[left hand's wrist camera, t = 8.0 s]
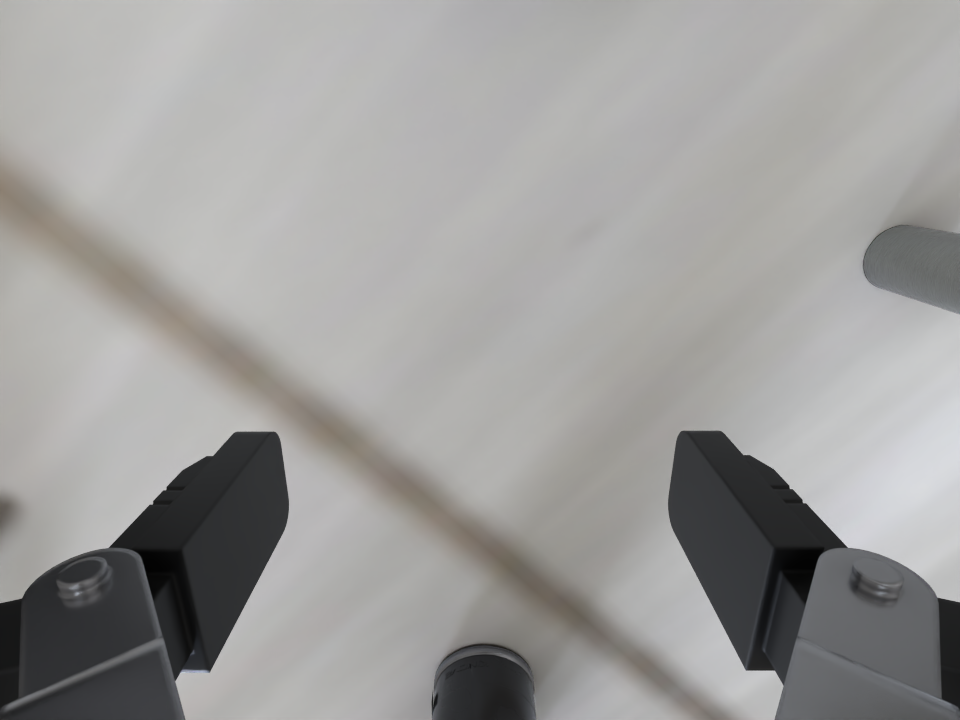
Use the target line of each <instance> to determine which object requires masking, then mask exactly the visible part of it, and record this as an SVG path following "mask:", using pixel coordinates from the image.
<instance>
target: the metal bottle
mask: <svg viewBox="0 0 960 720" xmlns="http://www.w3.org/2000/svg"><path fill="white" fill-rule="evenodd" d="M864 272H865V275H866V277H867V279H868V280H869V281H870V283H872V284H873V285H874V286H876V287H878V288H881V289H884V290H887V291H890V292H893V293H896V294H899V295H902V296H905V297H908V298H912V299H915V300H918V301H921V302H924V303H927V304H930V305H933V306H936V307H939V308H942V309H945V310H948V311H951V312H954V313H957V314H960V234H959V233H953V232H946V231H940V230H934V229H928V228H922V227H915V226H909V225H901V226H896V227H893V228H890V229H888V230H886V231H884V232H883V233H881V234H880V235H879V236H878V237H877V238H876V239H875V240H874V241H873V242H872V243H871V245H870V246H869V248H868V250H867V252H866V254H865V258H864Z"/></svg>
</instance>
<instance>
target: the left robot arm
mask: <svg viewBox="0 0 960 720" xmlns="http://www.w3.org/2000/svg"><path fill="white" fill-rule="evenodd" d="M668 510H669V518H670V522H671V526H672V529H673V531H674V533H675V535H676V537H677V539H678V540H679V542H680V544H681V546H682V548H683V550H684V552H685V554H686V556H687V558H688V560H689V562H690V564H691V565H692V567H693V569H694V571H695V573H696V575H697V577H698V579H699V581H700V583H701V585H702V587H703V589H704V591H705V592H706V594H707V596H708V598H709V600H710V602H711V604H712V606H713V608H714V610H715V612H716V614H717V616H718V617H719V619H720V621H721V623H722V625H723V627H724V629H725V631H726V633H727V635H728V637H729V639H730V641H731V642H732V644H733V646H734V648H735V650H736V652H737V654H738V656H739V658H740V660H741V662H742V664H743V666H744V667H745V669H746V670H775V671H776V673H777V675H778V676H779V678H780V680H781V682H782V683H783V685H784V687H783V690H782V694H781V698H780V701H779V705H778V709H777V713H776V716H775V720H960V602H955V601H950V600H945V599H941V598H937V596H936V594H935V592H934V591H933V589H932V588H931V587H930V585H929V584H928V583H927V582H926V581H925V580H924V579H922V578H921V577H920V576H919V575H917V574H916V573H915V572H913V571H912V570H910V569H909V568H907V567H905V566H904V565H902V564H900V563H898V562H896V561H894V560H892V559H890V558H887V557H885V556H882V555H879V554H876V553H873V552H870V551H865V550H861V549H854V548H848V547H847V546H846V545H845V544H844V543H843V542H842V541H841V540H840V539H839V538H838V537H837V536H836V535H835V534H834V533H833V532H832V531H831V529H830V528H829V527H828V526H827V525H826V524H825V523H824V522H823V521H822V520H821V519H820V518H819V517H818V516H817V515H816V514H815V513H814V511H813V510H812V509H811V508H810V507H809V506H808V505H807V504H806V503H803V502H802V499H801V498H800V497H799V496H798V495H797V493H796V492H795V491H794V490H793V489H790V488H789V485H788V484H787V483H786V482H785V481H784V480H783V479H782V478H781V477H780V475H779V474H778V473H777V472H776V471H775V470H774V469H772V468H771V467H769V466H767V465H765V464H764V463H762V462H760V461H759V460H757V459H755V458H754V457H752V456H750V455H743V454H742V453H741V452H740V451H739V450H738V449H737V448H736V446H735V445H734V444H733V443H732V442H731V441H730V440H729V439H728V437H727V436H726V435H725V434H724V433H723V432H721V431H681V432H680V433H679V435H678V437H677V441H676V447H675V454H674V462H673V469H672V476H671V483H670V491H669V499H668ZM288 512H289V498H288V491H287V484H286V477H285V470H284V462H283V455H282V448H281V442H280V438H279V436H278V434H277V433H276V432H235V433H234V434H233V435H232V436H231V437H230V438H229V439H228V440H227V441H226V442H225V443H224V445H223V446H222V447H221V448H220V449H219V450H218V451H217V452H216V454H215V455H214V456H206V457H205V458H203V459H201V460H200V461H198V462H196V463H194V464H193V465H191V466H189V467H188V468H186V469H184V470H183V471H182V472H181V473H180V474H179V475H178V476H177V477H176V478H175V479H174V480H173V481H172V482H171V483H170V484H169V485H168V486H167V490H166V491H163V492H162V493H161V494H160V495H159V496H158V497H157V498H156V499H155V500H154V501H153V505H149V506H148V507H147V508H146V509H145V510H144V511H143V512H142V514H141V515H140V516H139V517H138V518H137V519H136V520H135V521H134V522H133V523H132V524H131V525H130V526H129V527H128V528H127V529H126V530H125V531H124V532H123V533H122V535H121V536H120V537H119V538H118V539H117V540H116V541H115V542H114V543H113V544H112V545H111V546H110V547H109V548H106V549H99V550H95V551H90V552H87V553H84V554H81V555H78V556H75V557H73V558H70V559H68V560H66V561H64V562H62V563H60V564H58V565H56V566H55V567H53V568H51V569H50V570H48V571H47V572H45V573H44V574H43V575H41V576H40V577H39V578H38V579H36V580H35V581H34V582H33V583H32V584H31V585H30V587H29V588H28V589H27V591H26V592H25V594H24V596H23V598H22V599H19V600H14V601H9V602H5V603H0V720H185V716H184V713H183V709H182V705H181V702H180V698H179V694H178V690H177V687H176V683H175V681H176V679H177V677H178V676H179V674H180V673H210V671H211V669H212V667H213V665H214V663H215V661H216V659H217V658H218V656H219V654H220V652H221V650H222V648H223V646H224V644H225V642H226V640H227V638H228V637H229V635H230V633H231V631H232V629H233V627H234V625H235V623H236V621H237V619H238V618H239V616H240V614H241V612H242V610H243V608H244V606H245V604H246V602H247V600H248V599H249V597H250V595H251V593H252V591H253V589H254V587H255V585H256V583H257V581H258V580H259V578H260V576H261V574H262V572H263V570H264V568H265V566H266V564H267V562H268V561H269V559H270V557H271V555H272V553H273V551H274V549H275V547H276V545H277V543H278V542H279V540H280V538H281V536H282V534H283V532H284V530H285V527H286V524H287V519H288ZM432 720H536V712H535V702H534V681H533V675H532V672H531V670H530V668H529V666H528V665H527V663H526V662H525V661H524V660H523V659H522V658H521V657H519V656H518V655H517V654H515V653H513V652H511V651H509V650H506V649H504V648H500V647H495V646H473V647H468V648H465V649H462V650H459V651H457V652H455V653H453V654H452V655H450V656H449V657H447V658H446V659H445V660H444V661H443V662H442V663H441V665H440V666H439V668H438V670H437V672H436V675H435V682H434V707H433V694H432Z"/></svg>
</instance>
